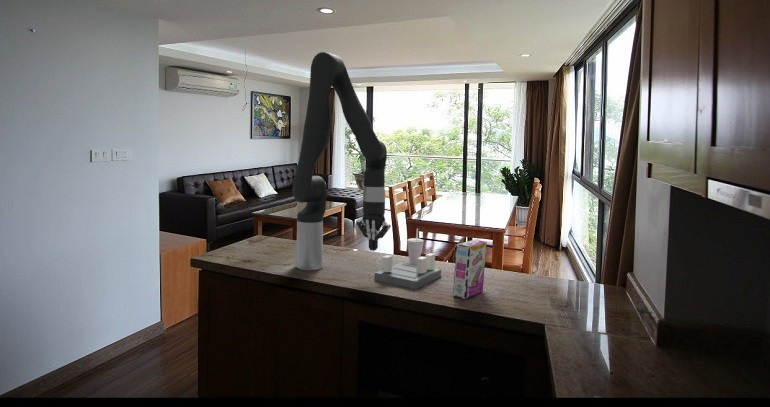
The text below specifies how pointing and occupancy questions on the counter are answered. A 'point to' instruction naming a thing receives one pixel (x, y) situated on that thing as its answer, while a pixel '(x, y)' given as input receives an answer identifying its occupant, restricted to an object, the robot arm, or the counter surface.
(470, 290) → the candy bar box
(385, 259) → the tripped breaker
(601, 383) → the counter surface
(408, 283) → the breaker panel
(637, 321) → the counter surface
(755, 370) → the counter surface
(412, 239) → the smoothie
